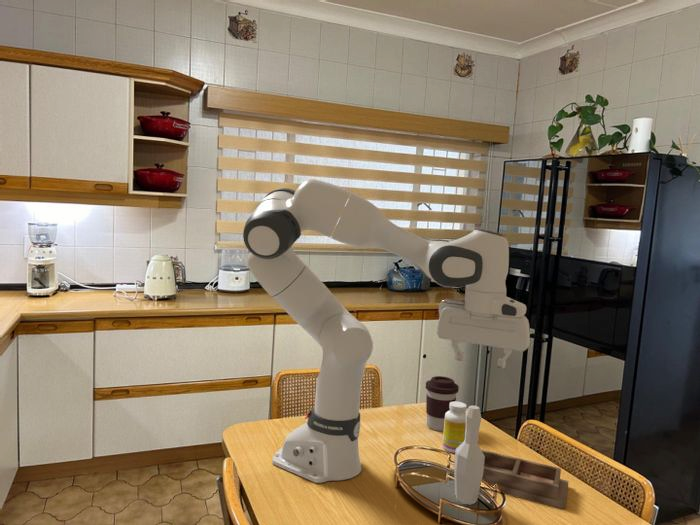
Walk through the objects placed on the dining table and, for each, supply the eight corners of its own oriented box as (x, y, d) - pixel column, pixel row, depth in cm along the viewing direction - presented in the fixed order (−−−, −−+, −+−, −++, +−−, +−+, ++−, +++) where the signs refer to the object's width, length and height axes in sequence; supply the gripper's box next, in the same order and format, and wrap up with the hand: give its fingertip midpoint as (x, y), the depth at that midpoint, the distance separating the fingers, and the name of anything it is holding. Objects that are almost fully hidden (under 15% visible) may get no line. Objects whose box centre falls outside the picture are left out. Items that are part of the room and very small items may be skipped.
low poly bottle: (446, 494, 128) (454, 403, 126) (469, 491, 130) (478, 401, 128) (461, 509, 122) (470, 413, 120) (485, 505, 125) (494, 411, 122)
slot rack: (460, 481, 135) (462, 464, 134) (471, 462, 146) (472, 446, 145) (565, 509, 125) (567, 490, 125) (567, 486, 136) (569, 469, 136)
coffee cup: (417, 421, 172) (420, 374, 170) (445, 419, 175) (449, 373, 173) (430, 434, 162) (435, 385, 161) (460, 432, 166) (465, 384, 164)
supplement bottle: (466, 455, 150) (470, 410, 148) (441, 452, 151) (445, 406, 150) (466, 445, 156) (470, 401, 155) (442, 442, 158) (446, 398, 156)
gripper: (435, 299, 124) (431, 358, 125) (529, 310, 115) (523, 375, 117) (443, 295, 130) (439, 353, 131) (533, 306, 121) (528, 368, 122)
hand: (479, 363), depth 124 cm, fingers open, 8 cm apart
